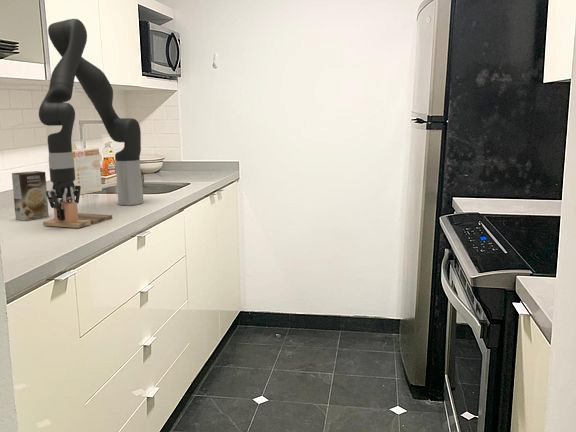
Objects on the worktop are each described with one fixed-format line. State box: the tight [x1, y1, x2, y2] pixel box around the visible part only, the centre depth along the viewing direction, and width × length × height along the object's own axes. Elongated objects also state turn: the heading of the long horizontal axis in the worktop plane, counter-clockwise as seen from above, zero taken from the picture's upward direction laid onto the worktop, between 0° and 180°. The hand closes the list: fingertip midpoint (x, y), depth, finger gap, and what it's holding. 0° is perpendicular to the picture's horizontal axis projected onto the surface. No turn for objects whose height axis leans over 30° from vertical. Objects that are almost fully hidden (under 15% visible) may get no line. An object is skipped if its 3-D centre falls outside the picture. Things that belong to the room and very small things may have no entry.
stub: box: [42, 201, 92, 229], centre depth 191 cm, size 6×14×7 cm, turn 70°
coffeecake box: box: [72, 147, 103, 196], centre depth 262 cm, size 15×7×20 cm, turn 152°
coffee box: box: [11, 170, 50, 222], centre depth 204 cm, size 9×6×16 cm
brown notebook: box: [78, 212, 113, 225], centre depth 200 cm, size 10×14×1 cm
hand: (66, 218), depth 191 cm, fingers closed on stub, 4 cm apart
